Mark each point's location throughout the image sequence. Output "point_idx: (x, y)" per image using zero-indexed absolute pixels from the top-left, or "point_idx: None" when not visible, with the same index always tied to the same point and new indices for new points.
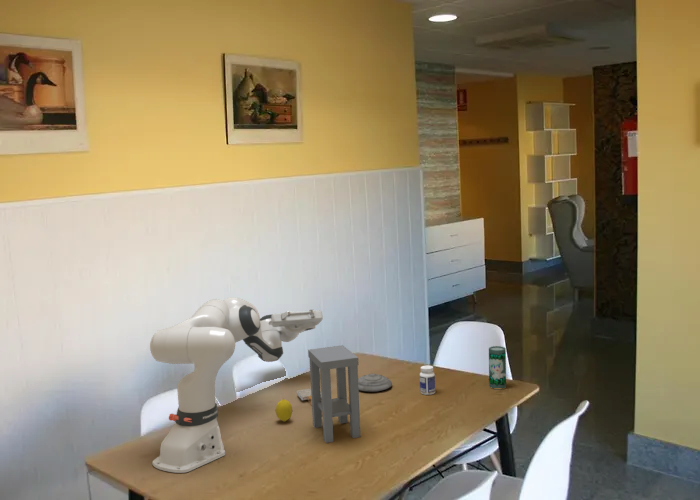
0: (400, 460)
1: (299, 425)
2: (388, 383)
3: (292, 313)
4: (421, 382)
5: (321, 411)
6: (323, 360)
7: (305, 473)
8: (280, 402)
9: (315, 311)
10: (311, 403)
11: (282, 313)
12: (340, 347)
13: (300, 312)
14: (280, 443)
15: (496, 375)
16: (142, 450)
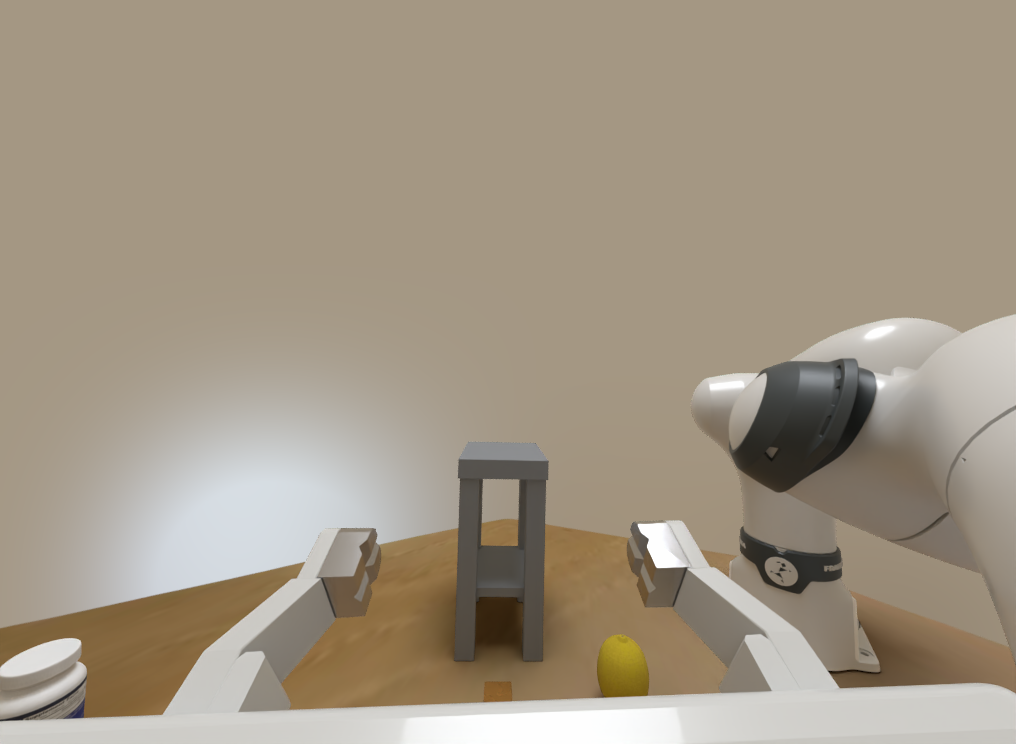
0: (450, 542)
1: (577, 673)
2: None
3: (619, 705)
4: (78, 708)
5: (507, 684)
6: (529, 444)
7: (572, 549)
8: (631, 639)
9: (107, 720)
10: None
11: (778, 615)
12: (471, 456)
13: (448, 704)
14: (616, 614)
15: None
16: (967, 677)
